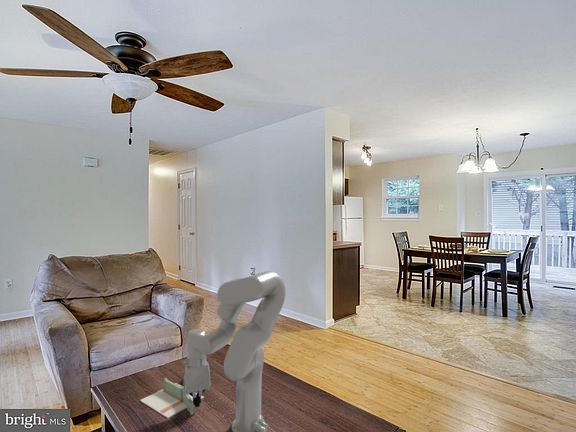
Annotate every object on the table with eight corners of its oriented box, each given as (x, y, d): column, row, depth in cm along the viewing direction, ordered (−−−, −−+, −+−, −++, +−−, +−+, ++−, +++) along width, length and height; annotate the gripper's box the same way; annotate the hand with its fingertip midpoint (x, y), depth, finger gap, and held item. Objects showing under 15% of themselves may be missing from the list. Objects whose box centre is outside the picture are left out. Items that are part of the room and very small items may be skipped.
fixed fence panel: (183, 398, 142) (183, 386, 142) (180, 400, 141) (180, 388, 140) (165, 388, 149) (165, 377, 149) (162, 390, 148) (162, 379, 148)
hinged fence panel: (181, 399, 141) (181, 388, 141) (184, 398, 142) (184, 387, 141) (190, 415, 129) (190, 404, 129) (194, 414, 130) (194, 402, 130)
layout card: (204, 397, 143) (204, 396, 143) (167, 418, 129) (167, 417, 129) (176, 383, 155) (176, 382, 155) (140, 401, 140) (140, 399, 140)
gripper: (179, 368, 127) (179, 416, 127) (217, 360, 134) (217, 405, 134) (176, 361, 133) (176, 406, 133) (212, 353, 141) (212, 396, 141)
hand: (196, 405), depth 134 cm, fingers closed
